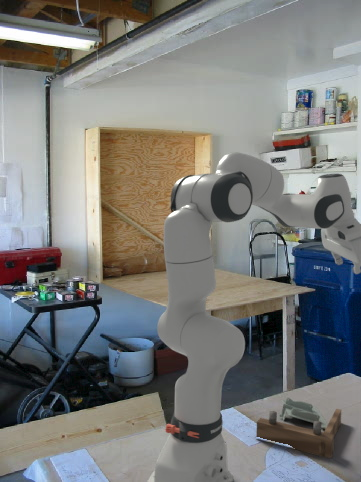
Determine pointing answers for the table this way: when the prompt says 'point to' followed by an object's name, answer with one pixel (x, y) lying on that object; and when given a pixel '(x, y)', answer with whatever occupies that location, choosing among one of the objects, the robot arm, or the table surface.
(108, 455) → the table surface
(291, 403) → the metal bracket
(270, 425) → the bench stop
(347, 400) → the table surface
